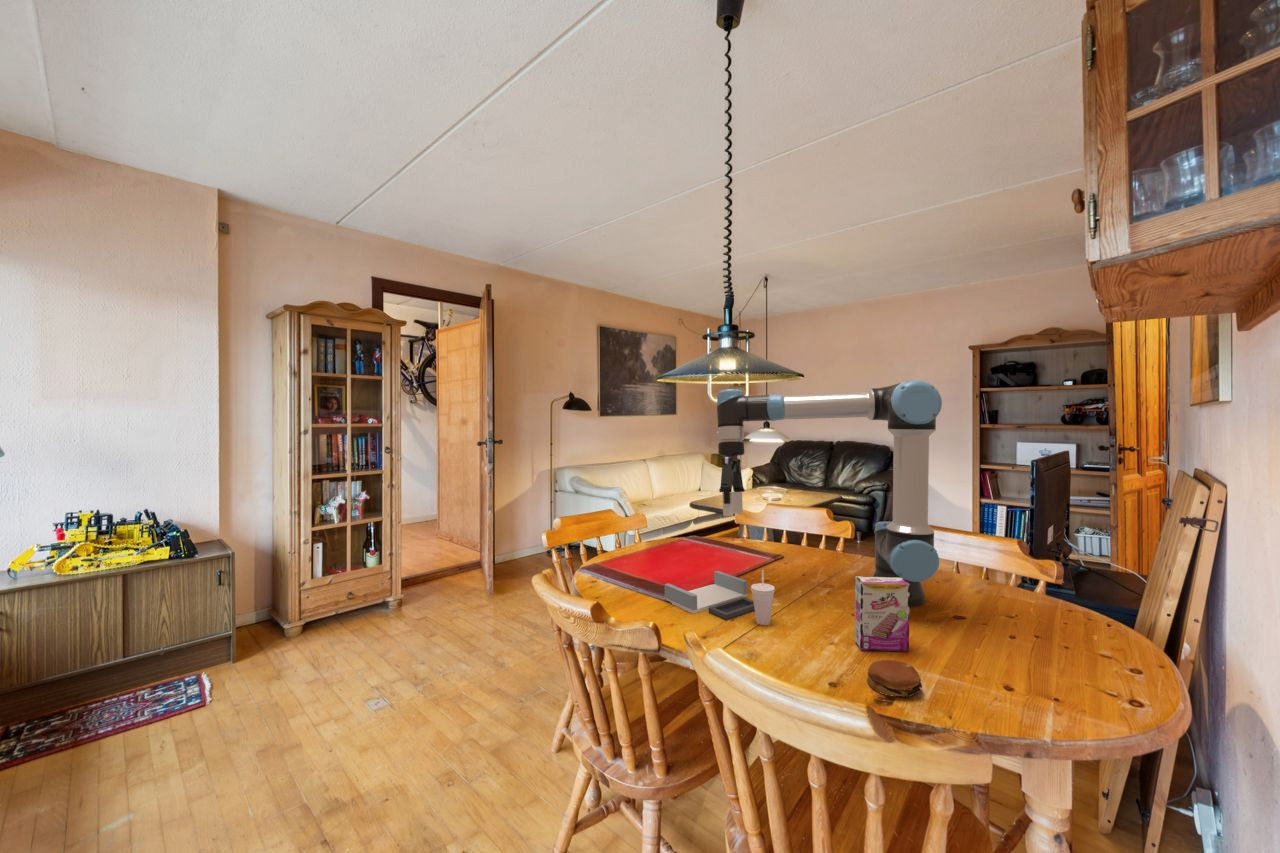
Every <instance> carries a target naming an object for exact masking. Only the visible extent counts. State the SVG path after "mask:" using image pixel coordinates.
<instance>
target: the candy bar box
mask: <svg viewBox="0 0 1280 853" xmlns="http://www.w3.org/2000/svg"><path fill="white" fill-rule="evenodd" d="M854 577H855V578H854V590H855V592H854V642H855V644H856V645H857V647H858V648H859V650H860V651H872V652H873V651H874V652H876V651H877V652H898V651H908V652H907V653H909V651H910V606H909V596H910V584H909V583H908V582H906V581H905V580H904V579H902V578H896V577H873V576H859V575H858V576H854Z"/></svg>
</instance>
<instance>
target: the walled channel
mask: <svg viewBox="0 0 1280 853" xmlns="http://www.w3.org/2000/svg"><path fill="white" fill-rule="evenodd" d="M713 572H714V573H713V578H714V580H713V581H714V583H713V584H709V585H706V586H702V587H698V588H694V589H692V590H685V589H683V588H680V587H678V586H676V585H674V584H671V583H665V584H664V600H665V599H667V600H669V601H670V602H671V603H672V604H671V603H670V604H671V605H673V606H675V607H677V608H679V609H681V610H683V611H686V612H687V613H689V614H692V615H693V614H697V613H700V612H703V611H704V612H705V611H706V610H709V608H708V607H712V606H715V605H718V604H721V603H725V602H728V601H731V600H734V599H737V598H741V597H746V598H748V580H745V579H743V578H740V577H737V576H734V575H731V574H728V573H725V572H722V571H720V570H717V571H716V570H714V571H713Z"/></svg>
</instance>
